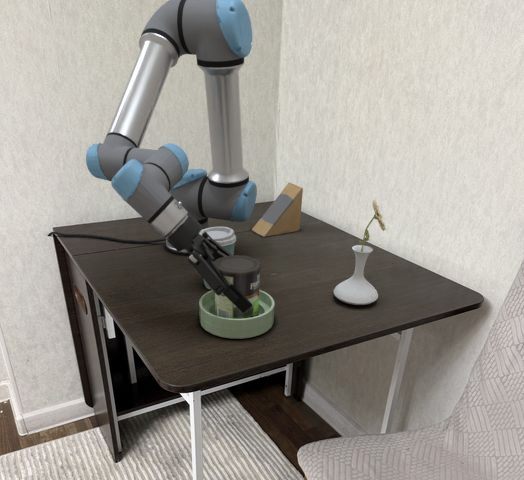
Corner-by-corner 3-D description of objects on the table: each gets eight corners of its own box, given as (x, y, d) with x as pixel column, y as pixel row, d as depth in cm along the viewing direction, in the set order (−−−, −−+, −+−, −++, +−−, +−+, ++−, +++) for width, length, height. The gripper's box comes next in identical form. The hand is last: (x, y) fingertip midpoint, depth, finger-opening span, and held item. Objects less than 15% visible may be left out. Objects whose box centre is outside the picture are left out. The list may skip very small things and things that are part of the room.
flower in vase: (367, 313, 118) (384, 212, 105) (325, 301, 123) (336, 203, 110) (385, 295, 127) (403, 200, 114) (345, 284, 132) (358, 192, 119)
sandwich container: (250, 229, 169) (251, 186, 161) (286, 223, 176) (288, 181, 168) (263, 237, 163) (264, 192, 155) (299, 230, 170) (303, 187, 162)
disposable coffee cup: (205, 296, 123) (203, 240, 115) (190, 280, 131) (187, 227, 123) (242, 289, 127) (243, 234, 119) (226, 274, 135) (225, 222, 127)
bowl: (185, 326, 110) (184, 307, 107) (225, 298, 123) (225, 280, 120) (250, 347, 103) (250, 327, 100) (285, 315, 116) (287, 296, 113)
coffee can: (262, 312, 116) (264, 257, 109) (253, 333, 107) (255, 274, 100) (221, 307, 118) (220, 252, 110) (209, 327, 109) (207, 269, 101)
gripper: (177, 232, 90) (258, 311, 98) (199, 200, 110) (265, 268, 117) (152, 257, 93) (232, 332, 101) (177, 221, 113) (243, 287, 120)
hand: (250, 297), depth 109 cm, fingers closed on coffee can, 10 cm apart
